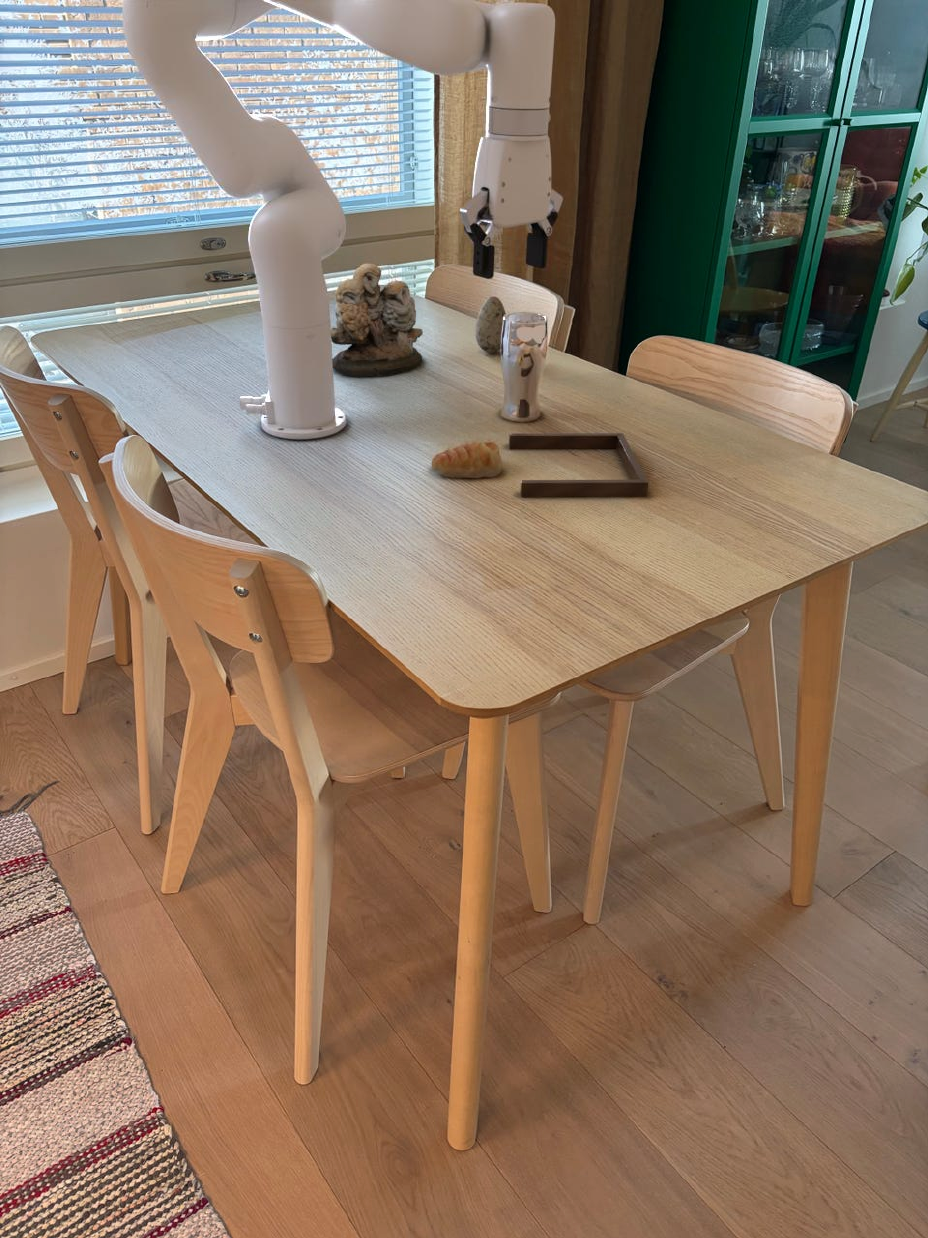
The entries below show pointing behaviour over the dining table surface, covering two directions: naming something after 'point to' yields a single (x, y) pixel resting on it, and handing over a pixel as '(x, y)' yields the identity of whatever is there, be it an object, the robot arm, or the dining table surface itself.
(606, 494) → the corral
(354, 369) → the owl figurine
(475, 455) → the pastry
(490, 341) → the decorative egg
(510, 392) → the beer glass
